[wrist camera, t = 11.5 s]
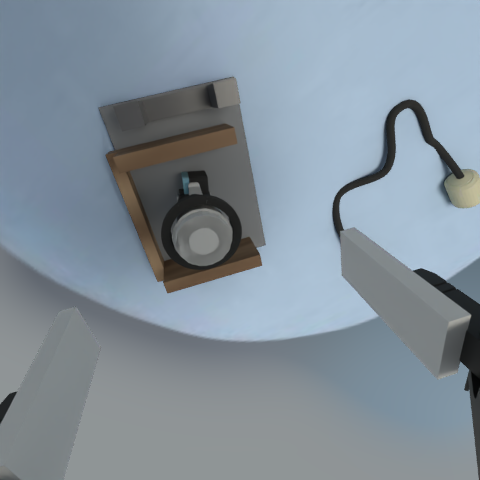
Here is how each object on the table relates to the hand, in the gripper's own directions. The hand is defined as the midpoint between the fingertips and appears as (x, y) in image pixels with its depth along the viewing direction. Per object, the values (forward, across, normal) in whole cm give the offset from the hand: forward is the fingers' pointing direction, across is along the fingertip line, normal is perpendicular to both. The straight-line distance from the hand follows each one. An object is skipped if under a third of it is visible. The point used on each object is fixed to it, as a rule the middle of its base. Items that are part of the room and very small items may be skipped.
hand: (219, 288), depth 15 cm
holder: (+15, 0, -1) cm, 15 cm away
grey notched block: (+16, 0, +8) cm, 17 cm away
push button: (+15, 0, 0) cm, 15 cm away
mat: (+15, 0, +1) cm, 15 cm away
